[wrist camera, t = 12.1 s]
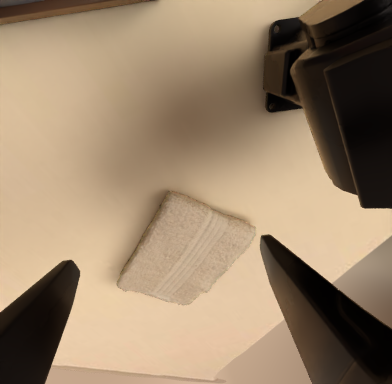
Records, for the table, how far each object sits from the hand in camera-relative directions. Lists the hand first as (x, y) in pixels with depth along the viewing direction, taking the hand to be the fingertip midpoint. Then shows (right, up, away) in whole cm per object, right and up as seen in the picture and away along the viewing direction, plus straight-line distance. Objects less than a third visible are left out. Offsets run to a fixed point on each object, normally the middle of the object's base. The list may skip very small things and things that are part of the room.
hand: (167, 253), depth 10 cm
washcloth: (-1, -5, +19) cm, 19 cm away
